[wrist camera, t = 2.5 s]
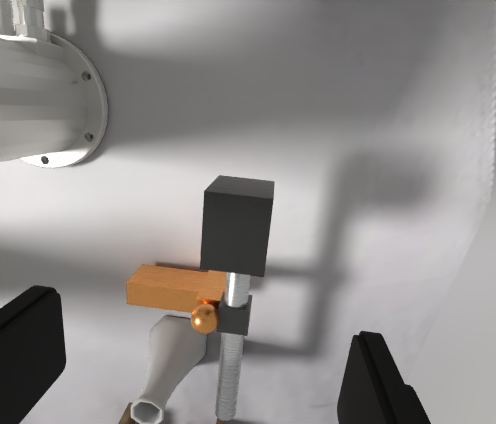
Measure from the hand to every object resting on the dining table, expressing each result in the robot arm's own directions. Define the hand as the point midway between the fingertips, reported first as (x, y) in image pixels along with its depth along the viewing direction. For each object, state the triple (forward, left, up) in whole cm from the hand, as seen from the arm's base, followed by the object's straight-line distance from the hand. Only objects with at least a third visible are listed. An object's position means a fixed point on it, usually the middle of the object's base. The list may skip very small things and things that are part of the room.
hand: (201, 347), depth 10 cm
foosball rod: (+9, -5, -23) cm, 25 cm away
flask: (+20, -7, -24) cm, 32 cm away
